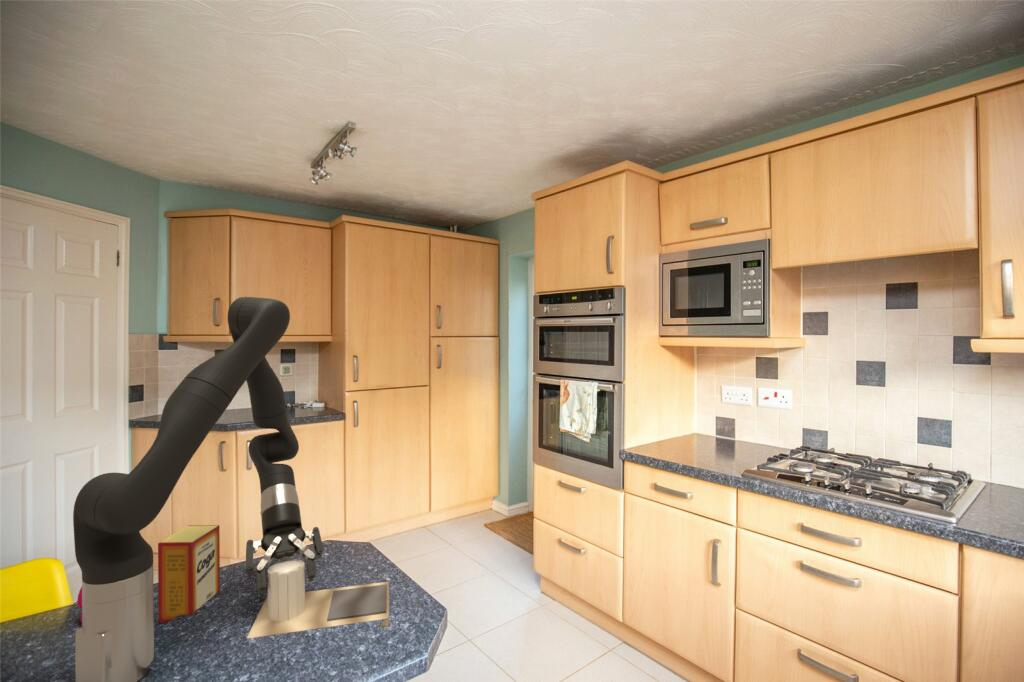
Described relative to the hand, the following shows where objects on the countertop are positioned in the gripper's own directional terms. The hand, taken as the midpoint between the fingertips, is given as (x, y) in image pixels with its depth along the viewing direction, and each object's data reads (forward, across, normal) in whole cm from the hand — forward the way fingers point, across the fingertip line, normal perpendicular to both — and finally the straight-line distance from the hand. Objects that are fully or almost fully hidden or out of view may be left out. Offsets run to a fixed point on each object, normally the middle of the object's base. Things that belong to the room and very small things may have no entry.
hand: (288, 585), depth 96 cm
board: (+6, +7, +4) cm, 10 cm away
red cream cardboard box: (-6, -16, +17) cm, 24 cm away
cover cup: (+3, 0, +5) cm, 6 cm away
